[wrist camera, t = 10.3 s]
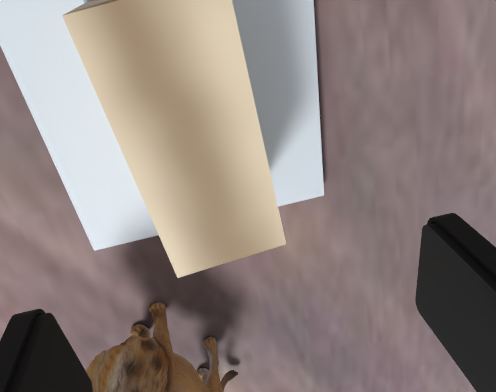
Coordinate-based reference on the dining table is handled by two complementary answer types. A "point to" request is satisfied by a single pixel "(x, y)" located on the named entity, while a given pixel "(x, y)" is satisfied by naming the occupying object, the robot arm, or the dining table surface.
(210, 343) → the lion figurine
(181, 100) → the oak block
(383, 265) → the dining table surface
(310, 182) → the board
